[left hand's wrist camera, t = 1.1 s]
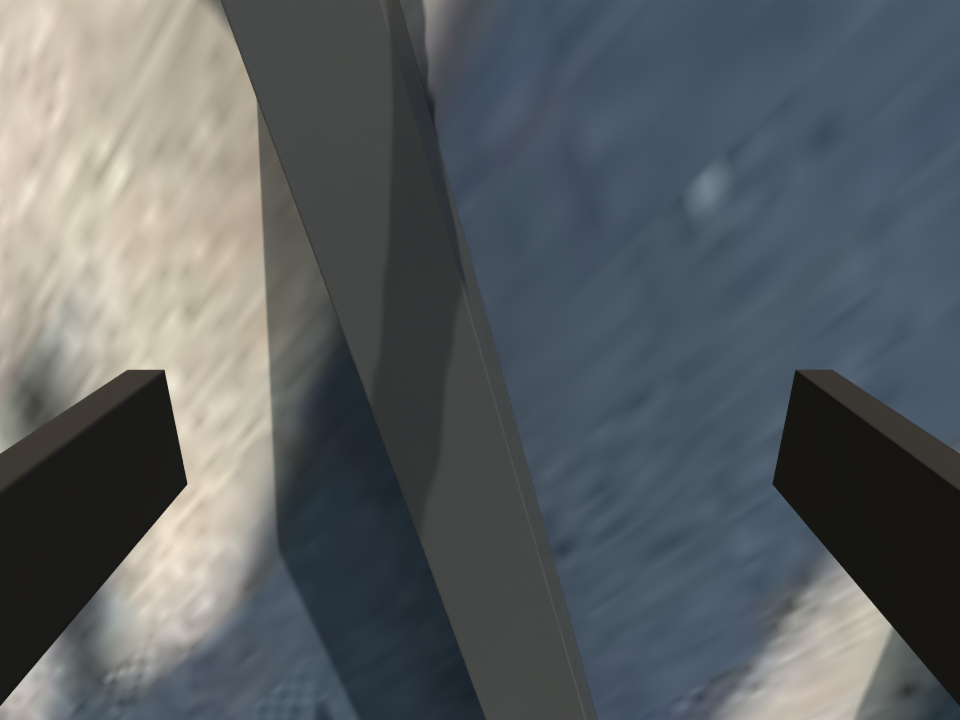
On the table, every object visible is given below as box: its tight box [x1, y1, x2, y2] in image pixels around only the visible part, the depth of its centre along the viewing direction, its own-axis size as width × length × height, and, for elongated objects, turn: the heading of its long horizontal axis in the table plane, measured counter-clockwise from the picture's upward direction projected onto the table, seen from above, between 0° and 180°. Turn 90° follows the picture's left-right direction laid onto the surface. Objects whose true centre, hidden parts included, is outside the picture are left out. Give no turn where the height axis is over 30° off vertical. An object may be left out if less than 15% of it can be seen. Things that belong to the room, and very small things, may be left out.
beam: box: [221, 0, 598, 720], centre depth 34 cm, size 82×5×7 cm, turn 15°
